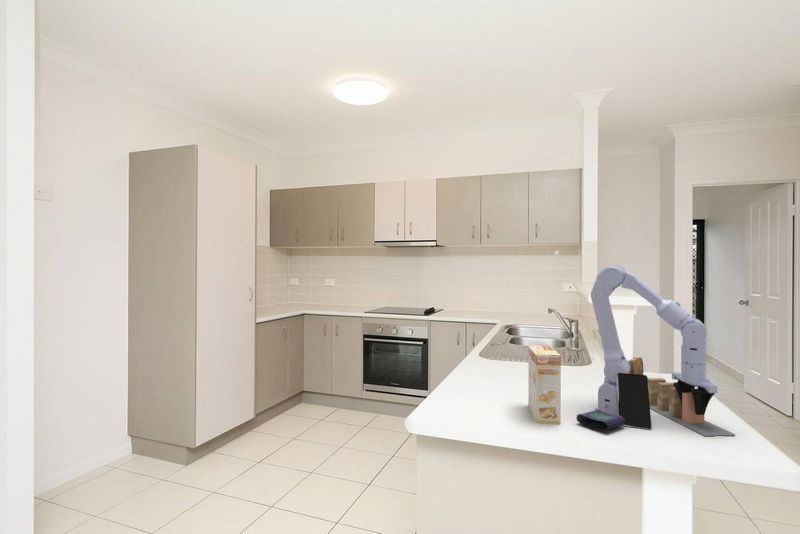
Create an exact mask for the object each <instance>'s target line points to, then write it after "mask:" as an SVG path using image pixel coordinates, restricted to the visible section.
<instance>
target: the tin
mask: <svg viewBox="0 0 800 534" xmlns="http://www.w3.org/2000/svg"><path fill="white" fill-rule="evenodd" d="M627 361H628V362H629V364H630V367H631V369H630V372H629V374H639V375H644V362H643V359H642V357H632V358H631V359H630V360H627Z"/></svg>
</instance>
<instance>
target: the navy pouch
mask: <svg viewBox="0 0 800 534" xmlns="http://www.w3.org/2000/svg"><path fill="white" fill-rule="evenodd" d="M576 421H577V423H579V424H580V425H583V426H585V427H587V428H590V429H592V430H595V431H600V432H605V431H608V430H611V429H614V428H616V427H621V426H620V425H624V424H625V419H624V418H623V417H622V416H616V415H613V414H608V413H605V412H602V411H600V410H591V411H586V412H583V413H582V412H581V413H577V415H576Z"/></svg>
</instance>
